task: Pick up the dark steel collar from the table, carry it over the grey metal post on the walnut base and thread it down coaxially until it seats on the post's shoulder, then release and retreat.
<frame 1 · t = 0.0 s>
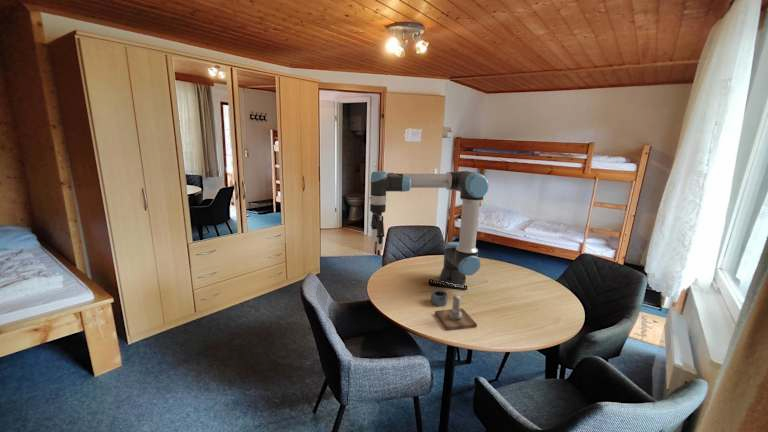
hand: (376, 245, 163), 28 cm above the table, fingers open, 13 cm apart
collar: (438, 302, 165), on the table
shaft block: (455, 320, 149), on the table
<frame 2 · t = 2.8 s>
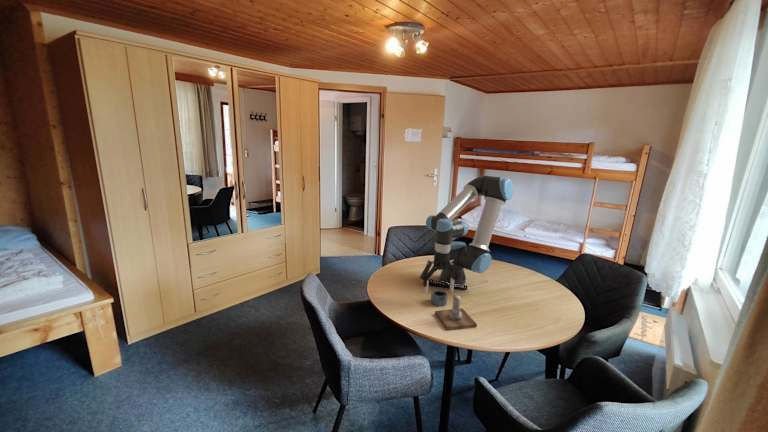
hand: (438, 291, 163), 6 cm above the table, fingers open, 13 cm apart
nothing on the table moved.
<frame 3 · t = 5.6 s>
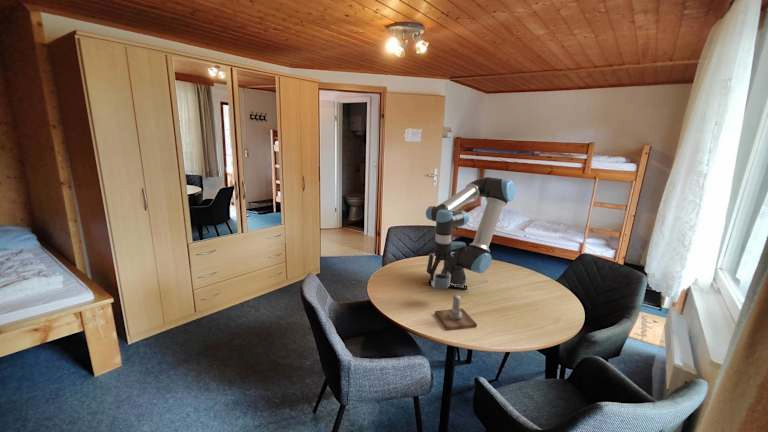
hand: (440, 285, 164), 9 cm above the table, fingers closed on collar, 7 cm apart
collar: (440, 286, 164), point 9 cm above the table, touching gripper
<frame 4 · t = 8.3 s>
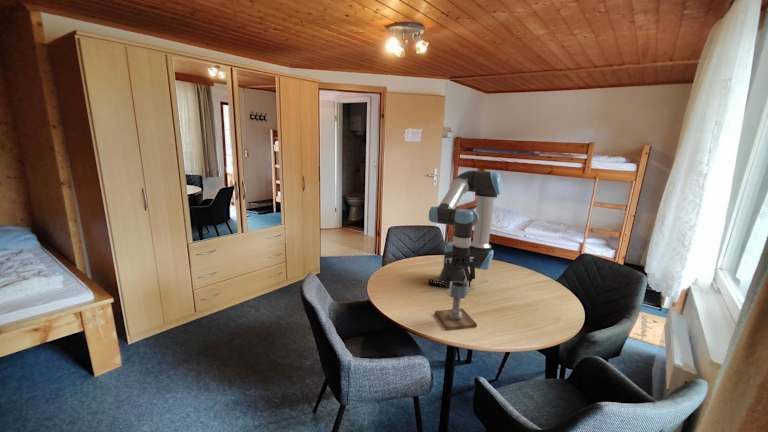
hand: (457, 294, 146), 13 cm above the table, fingers closed on collar, 7 cm apart
collar: (457, 294, 146), point 13 cm above the table, touching gripper
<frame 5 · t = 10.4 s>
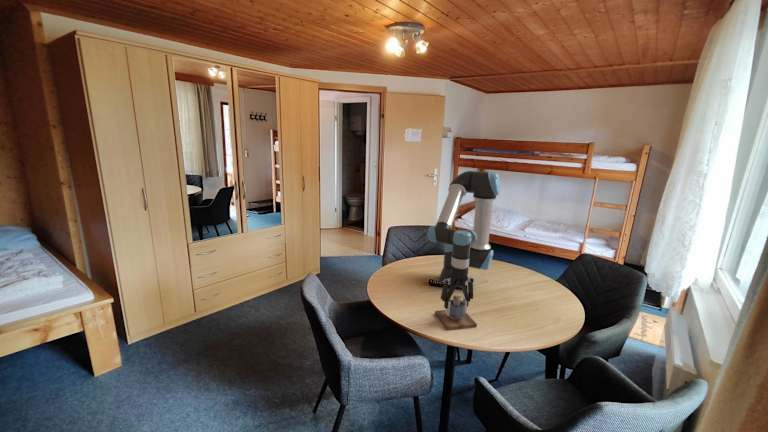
hand: (455, 313, 148), 3 cm above the table, fingers closed on collar, 7 cm apart
collar: (455, 313, 148), point 3 cm above the table, touching gripper, shaft block
when the fingers open (3 cm above the table, at t = 11.4 s): collar stays where it is, resting on shaft block.
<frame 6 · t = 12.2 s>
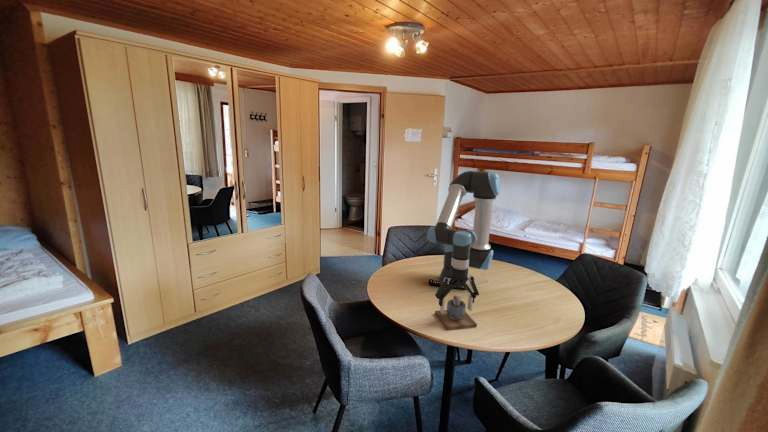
hand: (455, 310, 148), 5 cm above the table, fingers open, 13 cm apart
collar: (455, 313, 148), point 3 cm above the table, touching shaft block
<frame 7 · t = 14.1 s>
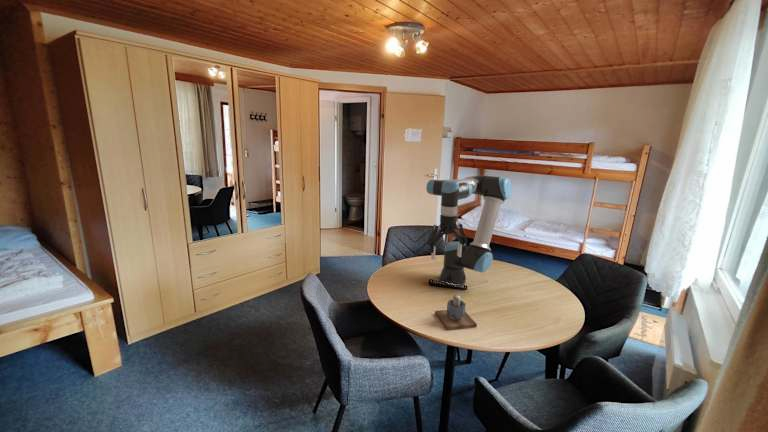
hand: (446, 257, 156), 25 cm above the table, fingers open, 13 cm apart
nothing on the table moved.
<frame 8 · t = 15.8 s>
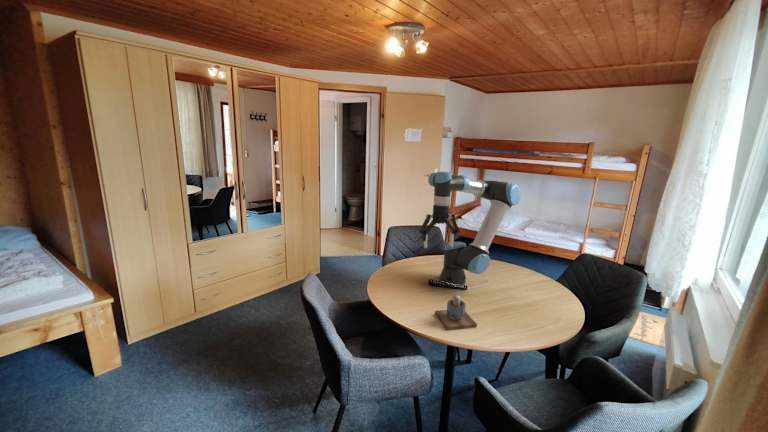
hand: (438, 246, 161), 29 cm above the table, fingers open, 13 cm apart
nothing on the table moved.
at the end: collar 0.1 cm off-centre on the shaft block, point 3.5 cm above the shaft block's base; the gripper is holding nothing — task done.
